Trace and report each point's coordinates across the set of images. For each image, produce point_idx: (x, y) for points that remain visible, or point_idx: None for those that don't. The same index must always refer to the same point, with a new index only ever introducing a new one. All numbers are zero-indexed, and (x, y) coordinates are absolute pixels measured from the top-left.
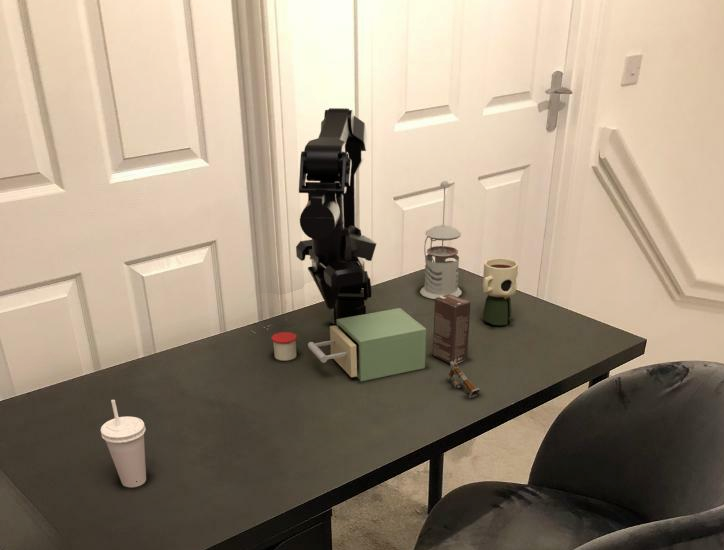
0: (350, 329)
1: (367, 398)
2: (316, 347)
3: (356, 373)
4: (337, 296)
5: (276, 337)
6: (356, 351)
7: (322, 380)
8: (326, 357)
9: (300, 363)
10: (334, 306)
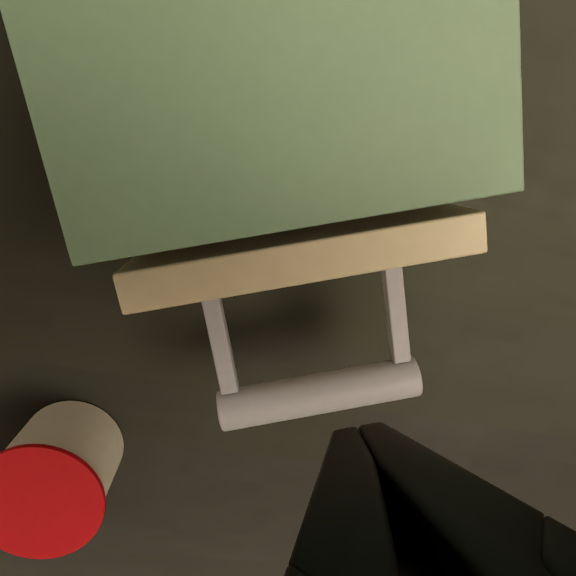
0: (296, 207)
1: (570, 191)
2: (305, 404)
3: None
4: (487, 483)
5: (36, 538)
6: None
7: (351, 335)
8: (418, 367)
9: (163, 395)
10: (390, 431)
